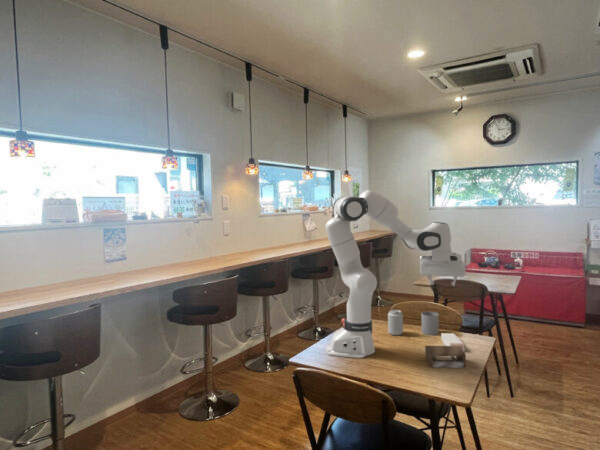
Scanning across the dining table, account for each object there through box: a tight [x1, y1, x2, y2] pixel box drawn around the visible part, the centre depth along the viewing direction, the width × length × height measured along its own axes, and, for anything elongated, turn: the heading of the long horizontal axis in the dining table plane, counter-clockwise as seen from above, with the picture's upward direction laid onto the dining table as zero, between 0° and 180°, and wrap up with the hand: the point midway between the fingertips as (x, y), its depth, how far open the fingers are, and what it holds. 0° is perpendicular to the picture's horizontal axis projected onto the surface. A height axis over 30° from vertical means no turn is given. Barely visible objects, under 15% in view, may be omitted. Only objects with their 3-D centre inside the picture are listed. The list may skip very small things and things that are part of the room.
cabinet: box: [424, 345, 467, 369], centre depth 160 cm, size 14×10×6 cm
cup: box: [420, 311, 440, 336], centre depth 198 cm, size 8×8×10 cm
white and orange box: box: [440, 332, 466, 353], centre depth 180 cm, size 6×16×3 cm, turn 174°
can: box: [387, 309, 404, 337], centre depth 198 cm, size 8×8×12 cm
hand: (442, 285), depth 181 cm, fingers open, 8 cm apart
